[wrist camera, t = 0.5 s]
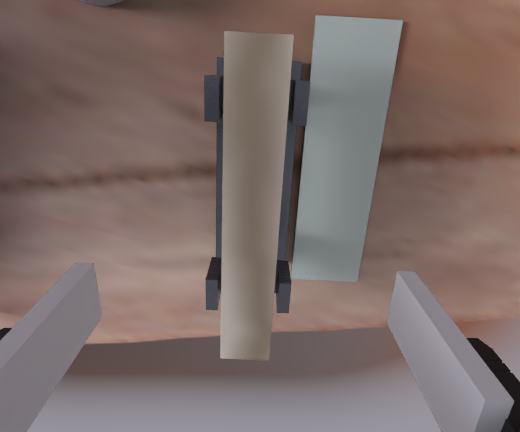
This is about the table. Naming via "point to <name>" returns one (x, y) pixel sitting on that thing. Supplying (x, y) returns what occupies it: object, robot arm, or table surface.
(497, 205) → the table surface
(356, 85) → the mat
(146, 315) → the table surface
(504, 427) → the robot arm
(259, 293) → the rail
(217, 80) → the rack
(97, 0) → the cup
